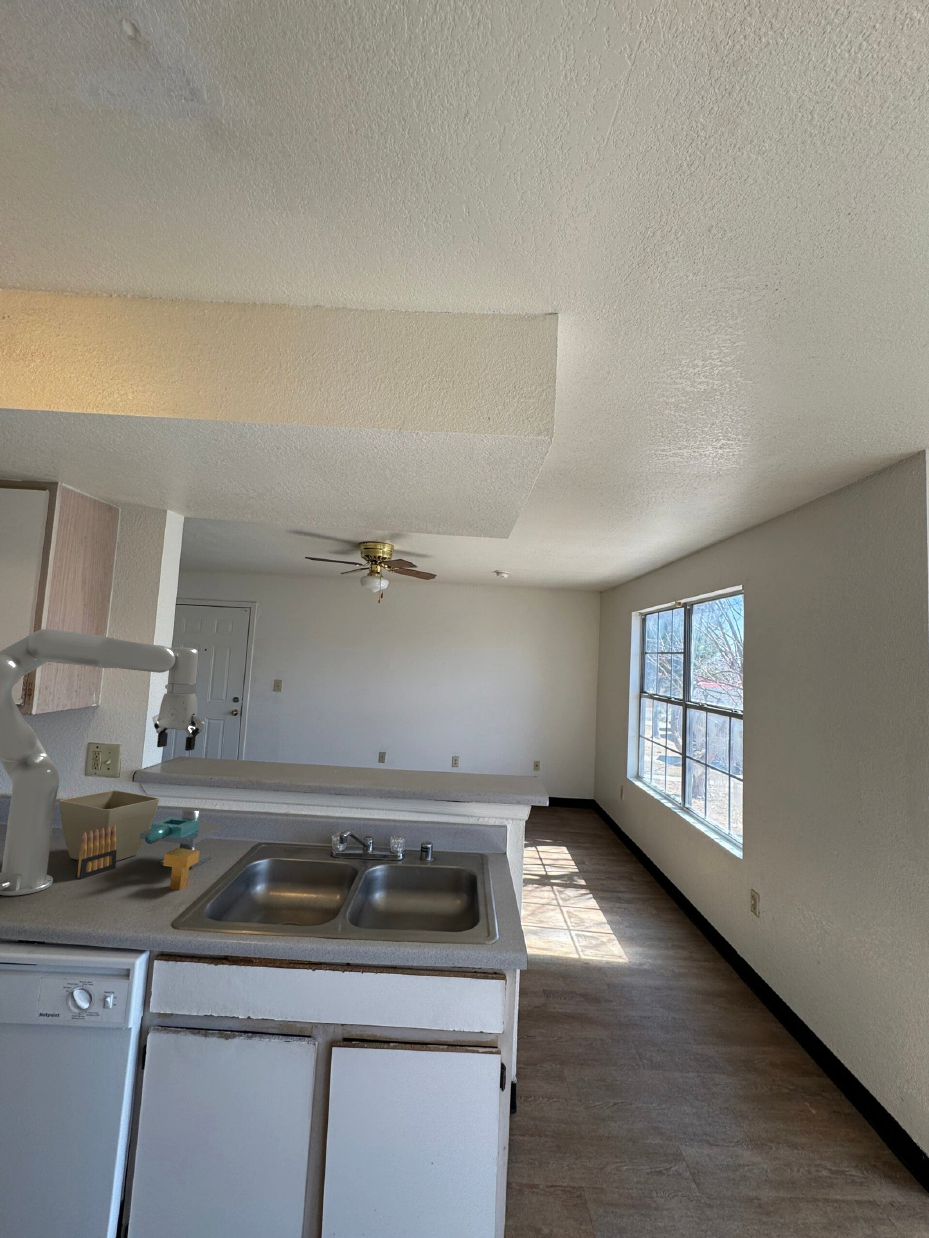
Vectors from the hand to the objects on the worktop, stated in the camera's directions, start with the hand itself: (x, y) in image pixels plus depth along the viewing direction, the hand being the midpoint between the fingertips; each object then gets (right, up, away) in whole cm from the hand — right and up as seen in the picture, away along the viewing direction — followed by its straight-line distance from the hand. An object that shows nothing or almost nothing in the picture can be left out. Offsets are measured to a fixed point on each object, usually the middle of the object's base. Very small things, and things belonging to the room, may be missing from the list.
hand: (175, 748), depth 177 cm
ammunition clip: (-17, -32, -10) cm, 38 cm away
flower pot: (-22, -33, +2) cm, 40 cm away
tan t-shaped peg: (+8, -34, -16) cm, 38 cm away
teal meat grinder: (+1, -34, -3) cm, 34 cm away
